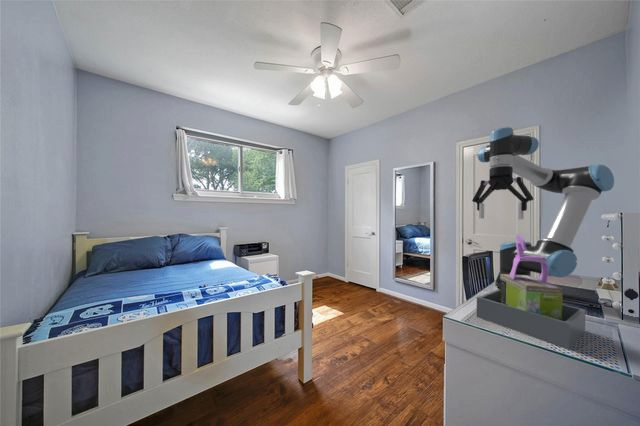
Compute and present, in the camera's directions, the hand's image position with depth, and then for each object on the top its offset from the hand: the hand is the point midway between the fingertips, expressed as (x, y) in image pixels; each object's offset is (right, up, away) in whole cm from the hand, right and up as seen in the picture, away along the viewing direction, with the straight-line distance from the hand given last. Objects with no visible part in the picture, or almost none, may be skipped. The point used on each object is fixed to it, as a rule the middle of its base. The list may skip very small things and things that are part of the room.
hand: (500, 218), depth 96 cm
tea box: (-4, -35, -18) cm, 39 cm away
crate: (-4, -35, -18) cm, 39 cm away
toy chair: (-4, -20, -17) cm, 27 cm away
